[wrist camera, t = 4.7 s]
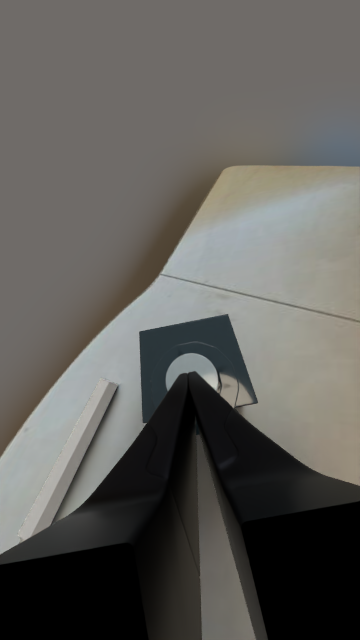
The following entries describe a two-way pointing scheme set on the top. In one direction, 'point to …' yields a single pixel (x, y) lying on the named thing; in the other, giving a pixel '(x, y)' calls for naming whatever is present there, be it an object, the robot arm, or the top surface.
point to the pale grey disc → (192, 369)
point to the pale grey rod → (67, 462)
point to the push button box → (197, 338)
